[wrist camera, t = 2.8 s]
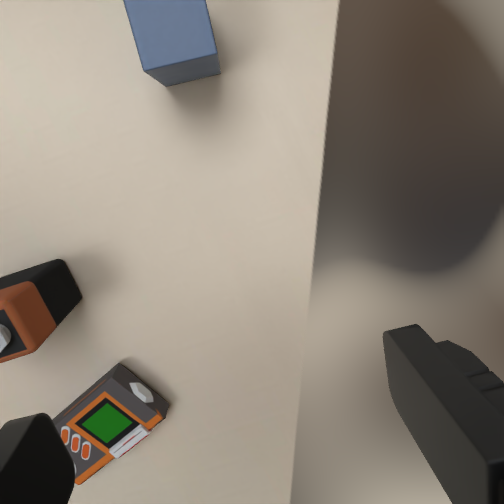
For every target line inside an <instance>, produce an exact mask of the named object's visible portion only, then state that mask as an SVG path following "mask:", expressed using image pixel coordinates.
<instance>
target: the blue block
mask: <svg viewBox="0 0 504 504" xmlns="http://www.w3.org/2000/svg"><path fill="white" fill-rule="evenodd" d="M123 1H124V4H125V8H126V11H127V15H128V18H129V22H130V25H131V29H132V33H133V36H134V40H135V43H136V47H137V50H138V54H139V57H140V61H141V64H142V68H143V71H144V72H146V73H147V74H149V75H150V76H151V77H153V78H154V79H156V80H157V81H158V82H160V83H161V84H163V85H164V86H165V87H167V86H171V85H175V84H180V83H184V82H188V81H192V80H196V79H200V78H205V77H209V76H213V75H217V74H220V73H221V71H220V65H219V59H218V53H217V48H216V44H215V39H214V35H213V31H212V26H211V22H210V17H209V13H208V9H207V4H206V0H123Z"/></svg>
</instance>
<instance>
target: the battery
mask: <svg viewBox="0 0 504 504" xmlns="http://www.w3.org/2000/svg"><path fill="white" fill-rule="evenodd" d="M81 298H82V297H81V295H80V293H79V291H78V289H77V287H76V285H75V283H74V281H73V279H72V277H71V275H70V273H69V271H68V269H67V267H66V265H65V263H64V261H63V260H61V259H56V260H53V261H49V262H46V263H43V264H40V265H37V266H34V267H31V268H28V269H25V270H22V271H19V272H16V273H13V274H10V275H7V276H4V277H1V278H0V363H3V362H6V361H9V360H12V359H15V358H18V357H21V356H24V355H27V354H30V353H33V352H35V351H36V350H37V349H38V348H39V347H40V346H41V344H42V343H43V342H44V341H45V340H46V339H47V338H48V337H49V335H50V334H51V333H52V332H53V331H54V330H55V329H56V328H57V326H58V325H59V324H60V323H61V322H62V321H63V320H64V319H65V318H66V316H67V315H68V314H69V313H70V312H71V311H72V310H73V309H74V307H75V306H76V305H77V304H78V303H79V302H80V300H81Z"/></svg>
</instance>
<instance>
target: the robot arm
mask: <svg viewBox="0 0 504 504" xmlns="http://www.w3.org/2000/svg"><path fill="white" fill-rule="evenodd" d="M383 344H384V352H385V360H386V367H387V375H388V383H389V388H390V392H391V395H392V399H393V401H394V404H395V406H396V409H397V410H398V413H399V414H400V416H401V418H402V419H403V421H404V423H405V425H406V426H407V428H408V429H409V431H410V433H411V435H412V436H413V438H414V440H415V441H416V443H417V445H418V447H419V448H420V450H421V452H422V453H423V455H424V457H425V458H426V460H427V462H428V463H429V465H430V467H431V468H432V470H433V472H434V473H435V475H436V477H437V479H438V480H439V482H440V483H441V485H442V487H443V489H444V490H445V492H446V493H447V495H448V497H449V499H450V500H451V502H452V504H504V383H503V381H502V380H500V378H498V377H497V376H496V375H495V374H494V373H493V372H492V371H491V372H490V371H489V369H488V367H487V366H486V365H485V364H484V363H483V362H482V361H481V360H480V359H478V358H477V357H476V356H475V355H474V354H473V353H472V352H471V351H469V350H467V349H465V348H463V347H461V346H459V345H457V344H454V343H452V342H450V341H448V340H446V341H442V342H438V343H435V342H434V341H433V340H432V338H431V337H430V336H429V335H428V334H427V333H426V332H425V331H424V330H423V329H422V328H421V327H420V326H419V325H417V324H414V325H409V326H405V327H401V328H397V329H393V330H389V331H385V332H384V333H383ZM74 483H75V466H74V462H73V459H72V457H71V455H70V453H69V451H68V450H67V448H66V446H65V444H64V442H63V440H62V438H61V436H60V434H59V433H58V431H57V429H56V427H55V425H54V423H53V421H52V419H51V418H50V417H49V415H47V414H45V413H39V414H35V415H31V416H27V417H23V418H19V419H14V420H10V421H8V422H7V423H5V424H4V426H3V427H2V428H1V430H0V504H67V503H68V501H69V498H70V496H71V493H72V491H73V488H74Z"/></svg>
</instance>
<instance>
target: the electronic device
mask: <svg viewBox="0 0 504 504" xmlns="http://www.w3.org/2000/svg"><path fill="white" fill-rule="evenodd" d="M168 407H169V403H167V402H166V401H165V400H164V399H162V398H161V397H160V396H159V395H158V394H156V393H155V392H154V391H153V390H152V389H150V388H149V387H148V386H147V385H145V384H144V383H143V382H142V381H141V380H139V379H138V378H137V377H136V376H134V375H133V374H132V373H131V372H130V371H128V370H127V369H126V368H125V367H124V366H122V365H121V364H120V363H118V364H117V365H116V366H115V367H113V368H112V369H111V370H110V371H109V372H108V373H106V374H105V375H104V376H103V377H102V378H101V379H99V380H98V381H97V382H96V383H95V384H94V385H93V386H91V387H90V388H89V389H88V390H87V391H86V392H84V393H83V394H82V395H81V396H80V397H79V398H77V399H76V400H75V401H74V402H73V403H72V404H70V405H69V406H68V407H67V408H66V409H65V410H63V411H62V412H61V413H60V414H59V415H58V416H56V417H55V418H54V419H53V420H52V421H53V423H54V425H55V427H56V429H57V431H58V433H59V434H60V436H61V438H62V440H63V442H64V444H65V446H66V448H67V450H68V451H69V453H70V455H71V457H72V459H73V462H74V466H75V483H76V484H78V485H80V484H82V483H83V482H85V481H86V480H87V479H88V478H90V477H91V476H92V475H94V474H95V473H96V472H97V471H99V470H100V469H101V468H102V467H104V466H105V465H106V464H108V463H109V462H110V461H111V460H113V459H114V458H120V457H121V456H122V455H124V454H125V453H126V452H127V451H129V450H130V449H131V448H133V447H134V446H135V445H136V444H138V443H139V442H140V441H141V440H143V439H144V438H145V437H147V436H148V435H149V434H150V433H151V432H152V429H153V427H155V426H156V425H157V424H158V423H160V422H161V421H162V420H163V419H165V418H166V414H167V410H168Z"/></svg>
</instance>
